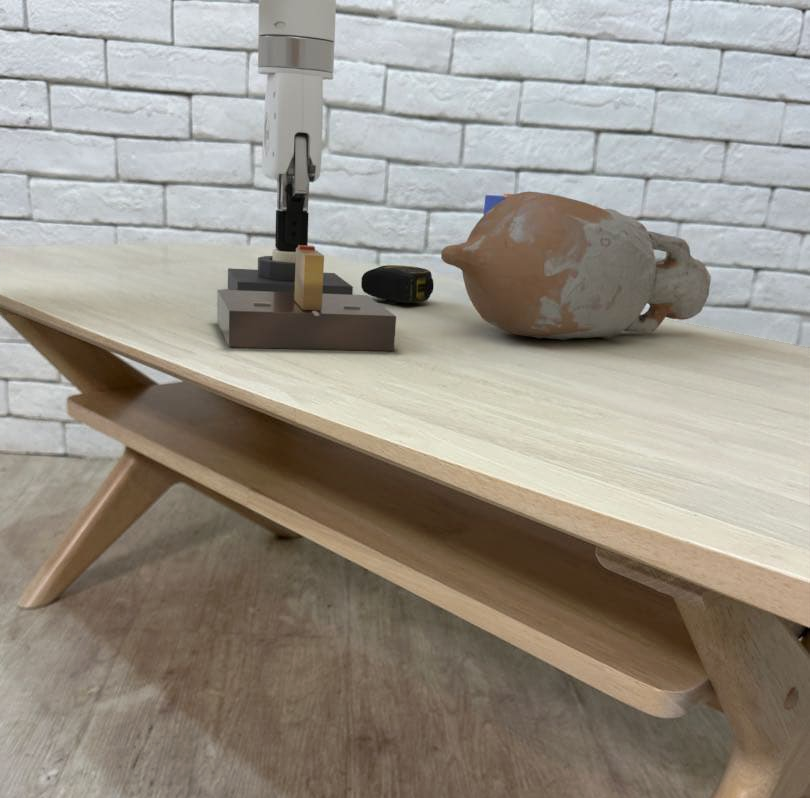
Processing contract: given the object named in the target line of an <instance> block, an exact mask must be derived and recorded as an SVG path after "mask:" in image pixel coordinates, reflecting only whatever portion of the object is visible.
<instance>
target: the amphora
mask: <svg viewBox="0 0 810 798" xmlns="http://www.w3.org/2000/svg"><path fill="white" fill-rule="evenodd" d="M513 194H514V195H511V196H509V197H507V198H506V199H504V200H502V201H501V202H499V203H498V204H496V205H495V206H493V207H492V208H491V209H490V210H489V211H488V212H487V213H486V214H485V215H484V214H483V215H484V216H483V215H482V217H480V219H479V220H478V222H476V223H475V225H474V227H473V228H472V230H471V231H470V233H469V235H468V237H467V240H466V241H465V242H461V243H457V244H450V245H447V246H445V247H444V248H443V249H441V252H440V253H441V255H440V259H441V260H442V262H444V263H445V264H447V265H448V266H449V265H450V266H452V267H455V268H458V269H460V270H461V273H462V279H463V283H464V286H465V291H466V293H467V296H468V299H469V300H470V302H471V304H472V306H473V307H474V309H475V311H476V312H477V313H478V315H479V316H480V317H481V318H482V319H483V320H484V321H485V322H487V323H488V324H489V325H491V326H492V327H495V328H497V329H498V330H501V331H503V332H506V333H509V334H512V335H517V336H524V337H532V338H536V339H542V338H544V339H550V340H551V339H552V340H560V341H566V340H569V339H592V338H603V339H608V338H612V337H614V336H616V335H617V334H620V333H622V332H631V333H640V334H641V333H642V334H647V333H649V332H654V331H656V330H657V329H658V328H659V327H660V325H662V323H663V321H664V320H665V319H666V318H668V319H672V320H680V321H681V320H682V321H684V320H689V319H692V318H694V317H696V316H697V315H698V314H700V313H701V312H702V310H703V308H704V306H705V305H706V303H707V300H708V298H709V294H710V285H711V281H712V277H711V273H710V272H709V271H708V269H707V267H706V266H705V263H703V262H702V261H701V260H700V259H696V258H694V257H693V256H692V255H691V249H690V246H689V244H688V242H687V241H686V240H685V239H683V238H682V237H678V236H676V235H675V236H674V235H669V234H662V233H660V232H656V231H649V230H648V229H647V227H645V226H646V225H644V224H643V223H641V222H640V221H638V220H636V219H635V218H633V217H630V216H628V215H625V214H623V213H621V212H619V211H617V210H616V209H612V208H602V207H599V206H596V205H593V204H591V203H588V202H584V201H580V200H577V199H574V198H571V197H565V196H563V195H562V196H561V195H558V194H551V193H545V192H538V191H522V192H517V193H513ZM655 251H660V252H665V253H666V254H665V255H666V256H665V257H664V259H659V260H656V255H655ZM647 304H648V305H649V308H648V310H647V311H646V312H644V313H642V312H643V311H644V309H645V308H646V306H647Z"/></svg>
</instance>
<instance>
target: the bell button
mask: <svg viewBox="0 0 810 798" xmlns="http://www.w3.org/2000/svg"><path fill="white" fill-rule="evenodd" d="M271 256H272V260H274V261H281V262H292V263H296V252H289V251H279V250H278V249H277V248H273V249H272V255H271Z"/></svg>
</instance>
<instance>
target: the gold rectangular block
mask: <svg viewBox="0 0 810 798" xmlns="http://www.w3.org/2000/svg"><path fill="white" fill-rule="evenodd" d="M324 266H325V255H324V254H322V253H321V252H319V251H318V250H317V249H316V246H314V245H309V244H308V245H298V248H296V263H295V293H294V300H295V301H296V303H297V304H298V305H299V306H300V307H301V308H302V309H303V310H312V311H321V310H322V293H323V273H324V270H325V269H324V268H325V267H324Z"/></svg>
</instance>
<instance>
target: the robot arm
mask: <svg viewBox="0 0 810 798" xmlns="http://www.w3.org/2000/svg"><path fill="white" fill-rule="evenodd" d="M336 11H337V0H258V27H257V28H258V32H257V33H258V39H257V40H258V45H257V47H258V48H257V54H258V55H257V74H260V75H265V76H266V85H265V94H264V109H263V130H262V152H261V173H262V174H263V175H264V177H266V178H268V179H270V180H272V181H276V208H277V209H276V210H275V239H274V240H275V243H274V245H275V246H274V247H275V249H278V250H279V251H289V252H296V248H298V245H309V244H308V243H309V198H310V197H309V196H310V183H314V182H316V181H318V180H319V178H320V175H321V167H322V155H323V154H322V153H323V124H324V123H323V121H324V120H323V119H324V117H323V115H324V80H325V81H326V80H328V81H329V80H334V67H335V65H334V64H335V40H336V38H335V37H336V18H337V17H336V16H337V15H336V14H337V12H336Z"/></svg>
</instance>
